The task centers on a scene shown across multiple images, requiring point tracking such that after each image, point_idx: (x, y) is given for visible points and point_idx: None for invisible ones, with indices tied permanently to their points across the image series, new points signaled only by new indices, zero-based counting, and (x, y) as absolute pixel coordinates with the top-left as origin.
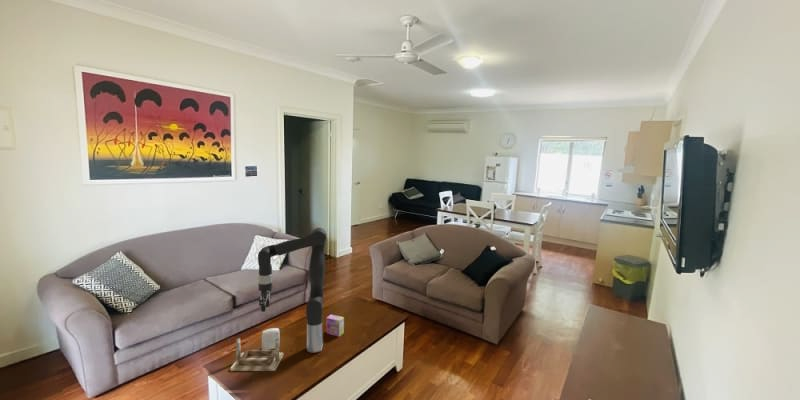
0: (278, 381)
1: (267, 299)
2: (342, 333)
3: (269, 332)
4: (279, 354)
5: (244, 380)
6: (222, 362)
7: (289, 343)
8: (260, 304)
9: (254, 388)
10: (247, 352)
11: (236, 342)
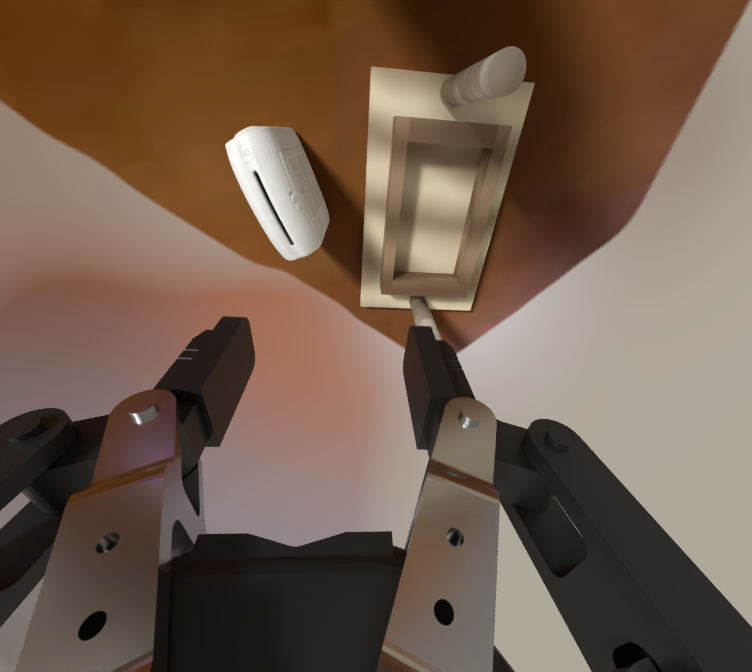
0: (639, 28)
1: (184, 447)
2: None
3: (300, 206)
4: (392, 92)
5: (551, 229)
6: None
7: (229, 53)
8: (552, 498)
9: (631, 164)
10: (405, 281)
11: None
